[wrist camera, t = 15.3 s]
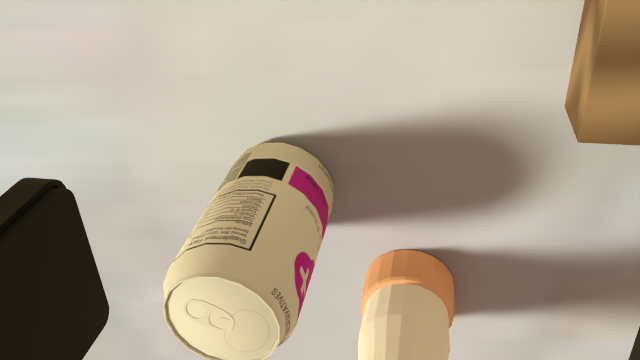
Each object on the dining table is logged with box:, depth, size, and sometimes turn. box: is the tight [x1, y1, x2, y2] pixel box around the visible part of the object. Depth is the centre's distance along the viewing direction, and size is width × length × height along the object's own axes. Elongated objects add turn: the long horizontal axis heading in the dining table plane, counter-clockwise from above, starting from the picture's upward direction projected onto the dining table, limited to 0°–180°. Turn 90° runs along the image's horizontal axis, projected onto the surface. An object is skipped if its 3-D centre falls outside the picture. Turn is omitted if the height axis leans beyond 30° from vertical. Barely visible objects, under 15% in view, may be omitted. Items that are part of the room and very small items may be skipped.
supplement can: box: [163, 142, 334, 360], centre depth 40 cm, size 8×8×15 cm
